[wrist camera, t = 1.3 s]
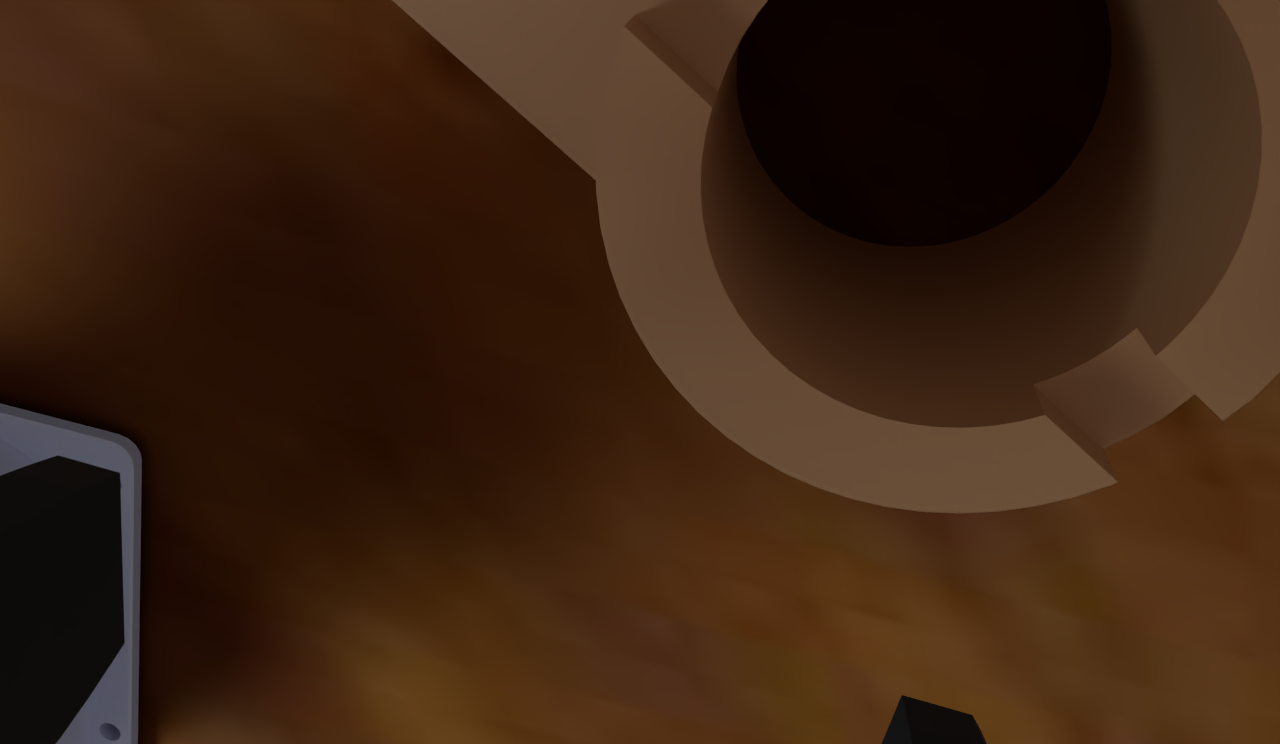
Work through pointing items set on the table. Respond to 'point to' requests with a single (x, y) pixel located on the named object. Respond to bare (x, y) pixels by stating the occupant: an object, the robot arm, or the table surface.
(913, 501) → the bracket
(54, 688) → the robot arm
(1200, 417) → the table surface
